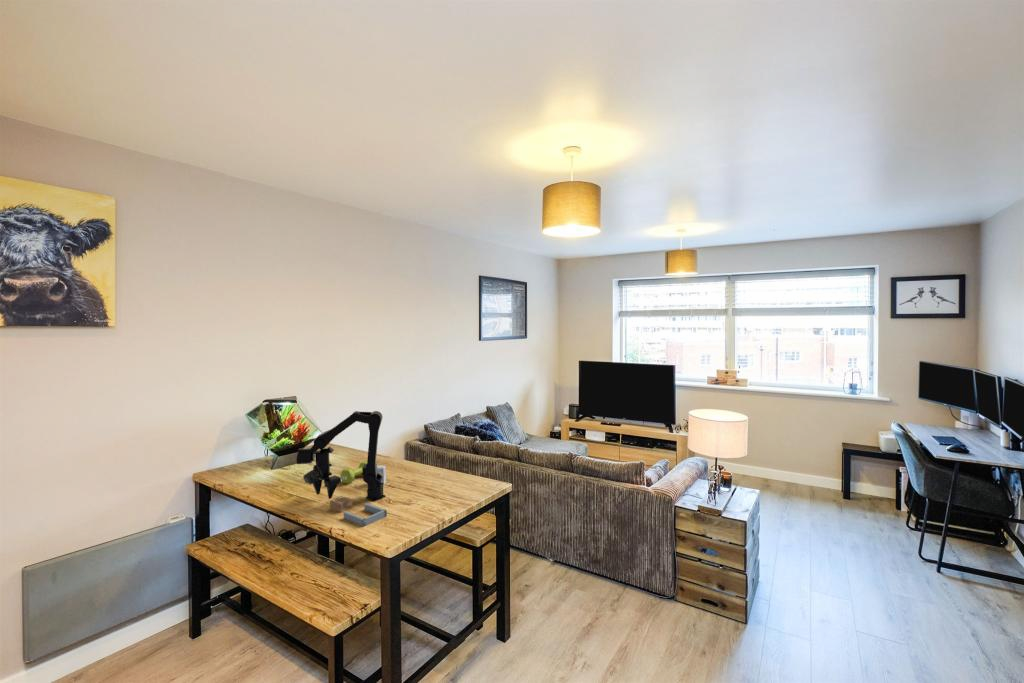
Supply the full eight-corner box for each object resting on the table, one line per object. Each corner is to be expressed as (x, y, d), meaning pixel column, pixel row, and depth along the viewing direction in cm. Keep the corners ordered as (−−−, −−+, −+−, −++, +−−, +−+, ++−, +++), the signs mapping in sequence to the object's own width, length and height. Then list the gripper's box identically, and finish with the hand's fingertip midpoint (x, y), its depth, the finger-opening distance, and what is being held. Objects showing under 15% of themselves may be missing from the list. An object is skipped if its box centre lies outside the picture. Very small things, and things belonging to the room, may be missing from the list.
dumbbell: (350, 485, 230) (349, 471, 229) (338, 483, 233) (338, 469, 233) (374, 475, 245) (373, 461, 244) (362, 473, 248) (362, 459, 248)
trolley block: (341, 504, 206) (341, 495, 206) (352, 507, 203) (352, 498, 203) (330, 509, 201) (329, 500, 201) (341, 512, 198) (341, 503, 197)
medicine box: (386, 482, 233) (385, 465, 233) (384, 485, 229) (383, 468, 229) (370, 482, 233) (369, 465, 233) (368, 485, 229) (367, 468, 228)
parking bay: (366, 508, 201) (366, 503, 201) (386, 515, 193) (386, 510, 193) (343, 518, 192) (343, 512, 191) (364, 526, 184) (363, 520, 184)
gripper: (294, 463, 207) (295, 498, 208) (317, 471, 196) (319, 507, 197) (317, 457, 216) (318, 490, 217) (341, 464, 206) (342, 498, 206)
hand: (324, 496), depth 209 cm, fingers open, 9 cm apart
